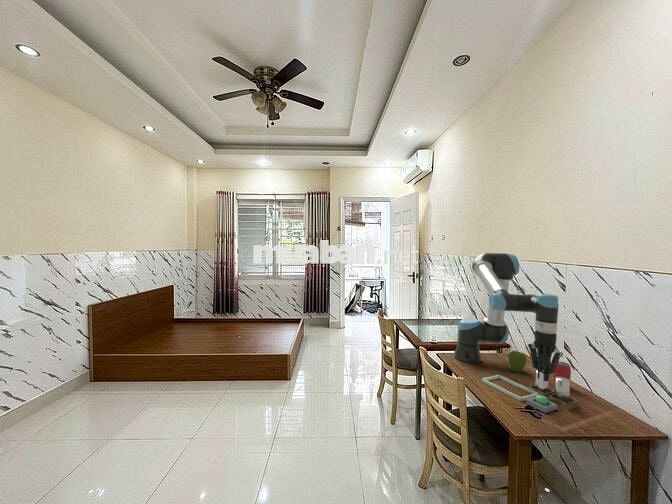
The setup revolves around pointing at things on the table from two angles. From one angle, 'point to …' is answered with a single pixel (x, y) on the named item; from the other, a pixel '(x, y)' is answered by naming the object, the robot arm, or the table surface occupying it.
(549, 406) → the grey square button housing
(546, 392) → the cylinder
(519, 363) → the apple
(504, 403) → the table surface
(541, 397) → the button
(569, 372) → the beer can
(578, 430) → the table surface
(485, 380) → the tray
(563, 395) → the cylinder
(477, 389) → the table surface
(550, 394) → the tray
